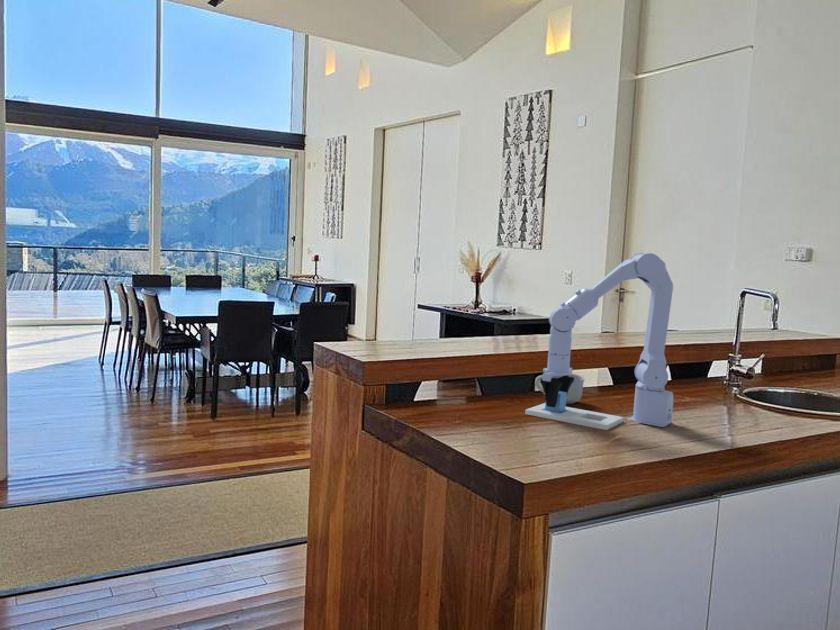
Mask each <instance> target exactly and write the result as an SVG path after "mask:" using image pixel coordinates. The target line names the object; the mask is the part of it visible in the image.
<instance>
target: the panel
mask: <svg viewBox="0 0 840 630" xmlns="http://www.w3.org/2000/svg"><path fill="white" fill-rule="evenodd" d="M545 403H546V402H543V403H541V404H538V405H535V406H533V407H529V408H526V409H525V411H524V412H525V413H524V414H525V415H527V416H531V417H536V418H537V417H538V418H541V419H546V420H552V421H559V422H563V423H567V424H573V425H576V426H577V425H578V426H583V427H588V428H593V429H598V430H603V431H608V430H610V429H613V428H614V427H616V426H618V425H620V424H622V423H624V419H625V417H624V416H619V415H615V414H608V413H603V412H597V411H593V410H592V411H591V410H585V409H581V408H576V407H570V406H566V408H565V412H563V413H556V412H551V411H545Z"/></svg>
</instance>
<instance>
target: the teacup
mask: <svg viewBox="0 0 840 630" xmlns="http://www.w3.org/2000/svg"><path fill="white" fill-rule="evenodd" d="M569 377H574V381H573V383H572V384H571V386H570V388H569V390H568V393H567V397H566V405H570V404H572V405H573V404H576V403H577V402H579V401H580V400H581V399H582V396H583V389H584V381H585V378H584V376H582V375H579V374H576V373H572V375H569ZM542 378H543V374H541V375H538V376H536V378H535V381H534V385H535V386H536V388H537V389H538V390H539V391H540V392H542V393H543V395H544V396H545V393H544V390H543V387H542V386H540V383H539V382H540V379H542Z"/></svg>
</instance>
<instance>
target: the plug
mask: <svg viewBox="0 0 840 630" xmlns="http://www.w3.org/2000/svg"><path fill="white" fill-rule="evenodd" d="M566 395H567V392H563V391H559V393H558V397H557V402H556V406H555V407H549V406H547V404H546V402H544V403H545V411H551V412H556V413H563V412H565V408H566V407H567V404H566Z"/></svg>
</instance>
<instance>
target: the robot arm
mask: <svg viewBox="0 0 840 630" xmlns="http://www.w3.org/2000/svg"><path fill="white" fill-rule="evenodd" d="M635 279H639V280H640V281H643V283H644V284H645V285H646V286H647V287H648V288H649V289H650V290H651V293H650V298H649V299H650V300H649V308H648V314H647V316H648V317H647V322H646V329H645V337H644V338H645V339H644V345H643V350H642V352H641V354H640V355H639V360H638V363H637V364H636V366H635V368H634V376H635V379H636V380H637V382H636V384H635V388H634V389H635V391H634V402H633V413H632V416H631V417H629V418H627V421H631V422H637V423H640V424H645V425H649V426H653V427H654V426H655V427H660V428H665V427H667V426H668V425H670V424H672V423H673V420H672V419H673V411H674V410H673V409H674V393H673V392H672V391H669V390H666V389H665V388H666V387H665V386H666V385H667V384H668V381H669V374H668V371H667V359H666V356H665V351H666V342H667V334H668V326H669V320H670V311H671V307H672V306H671V305H672V299H673V298H672V297H673V291H674V284H673V281H672V279H671V277H670V275H669V271H668V270H667V265H666V263H665V262H664V261H663V260H662V259H661V257H659V256H658V255H657V254H654V253H648V252H647V253H643V252H638V253H635V254H632V256H631V257H630V258H628V259H625V260H624V261H622V262H621V263H619V265H617V266H616V267H614V269H613V270H611V271H610V272H609V273H608V274H607V275H606V276H604V277H603V278H602V279H601V280H599V281H598V282H597V283H596V284H595V285H594V286H592V287H591V288H582V289H577V290H576V291H575V292H574V295H572V297H571V298H570V299H567V301H566V302H564V301H563V302H561V303H560V306H561V307H557V308H555V309H553V310H552V311H551V313H550V315H549V317H548V322H549V325H550V329H549V339H548V352H547V367H545V368H543V369H542V372H543V373H542V375H543V378H542V379H540V380H539V382H540V383H539V384H540V385H541V388H543V390H544V393H545V395H544V397H545V403H546V404H547V406H549V407H555V406H556V402H557V397H558V393H559V391H563V392H567V393H568V390H569V388H570V386H571V384H572V383H573V381H574V377H569V375H572V374H573V367H570V365H571V353H572V352H571V351H572V338H573V337H572V330H573V328H574V327H575V325H576V322H577V321H580V320H581V319H582V318H584V317H585V316H586V315H588V314H589V313H590V312H591V311H592V310H594V309H595V308H596V307H598V305H599V300H600V298H601V297H602V296H604V295H605V294H607V293H609V292H610V291H611V290H613V289H614V288H615V287H617V286H618V285H619V284H621V283H622V282H624V281H627V280H635ZM544 393H543V394H544ZM566 397H567V395H566Z"/></svg>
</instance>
